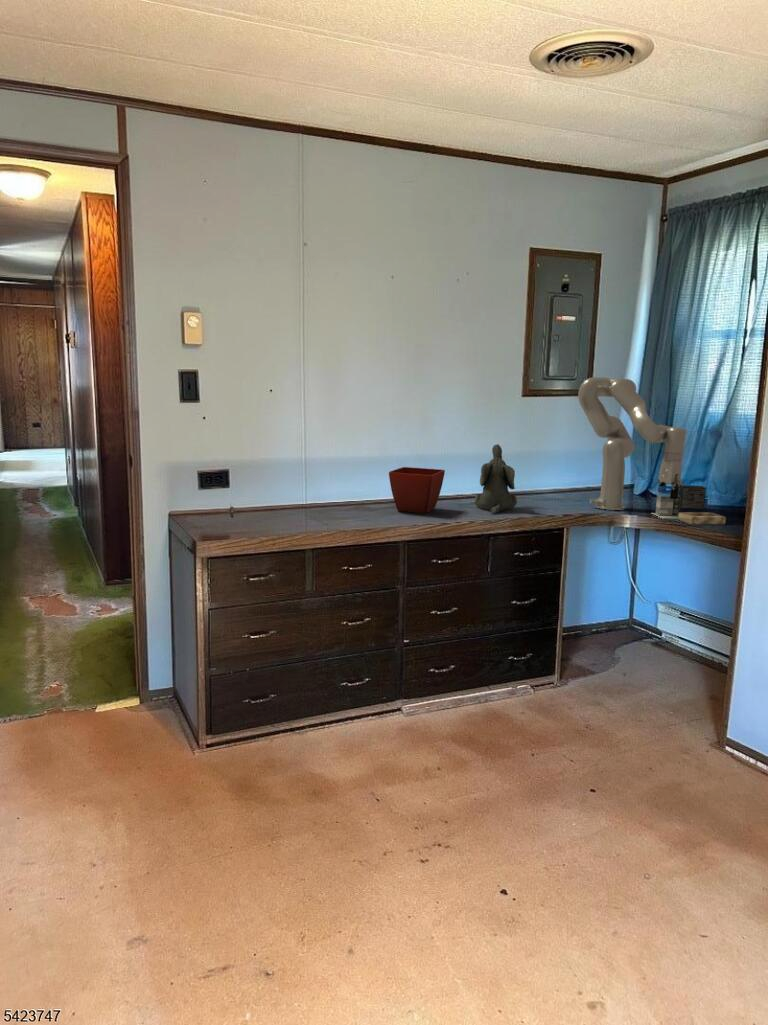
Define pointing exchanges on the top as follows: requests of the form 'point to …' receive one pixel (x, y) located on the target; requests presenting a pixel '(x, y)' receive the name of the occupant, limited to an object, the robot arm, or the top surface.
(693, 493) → the small box
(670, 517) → the pad
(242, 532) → the top surface
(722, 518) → the pocket block
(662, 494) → the label tape box
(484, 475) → the grey seated figure statue
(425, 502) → the plant pot
